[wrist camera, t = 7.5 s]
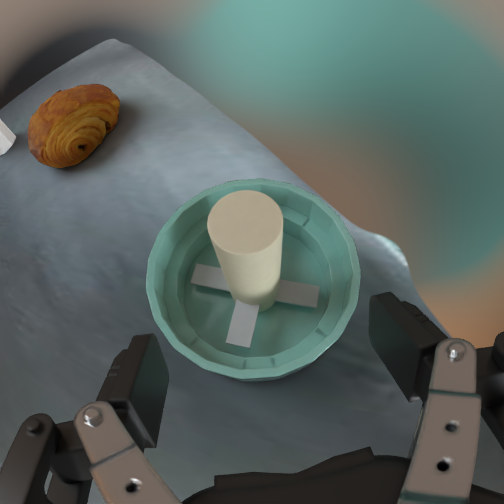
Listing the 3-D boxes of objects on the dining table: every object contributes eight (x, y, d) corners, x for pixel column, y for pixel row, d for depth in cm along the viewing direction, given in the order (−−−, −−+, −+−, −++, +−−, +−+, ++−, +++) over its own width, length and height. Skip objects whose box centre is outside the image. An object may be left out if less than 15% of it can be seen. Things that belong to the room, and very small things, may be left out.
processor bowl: (136, 316, 26) (108, 296, 21) (231, 191, 32) (225, 154, 27) (284, 416, 22) (288, 421, 17) (371, 263, 27) (390, 233, 22)
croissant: (57, 198, 36) (26, 168, 28) (32, 137, 40) (9, 108, 32) (142, 135, 39) (125, 95, 31) (103, 87, 43) (88, 52, 35)
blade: (179, 335, 25) (122, 291, 15) (212, 226, 29) (185, 141, 19) (305, 362, 24) (331, 337, 14) (324, 245, 28) (349, 163, 18)
